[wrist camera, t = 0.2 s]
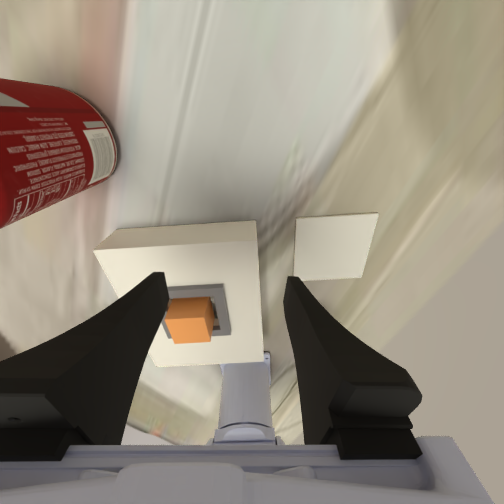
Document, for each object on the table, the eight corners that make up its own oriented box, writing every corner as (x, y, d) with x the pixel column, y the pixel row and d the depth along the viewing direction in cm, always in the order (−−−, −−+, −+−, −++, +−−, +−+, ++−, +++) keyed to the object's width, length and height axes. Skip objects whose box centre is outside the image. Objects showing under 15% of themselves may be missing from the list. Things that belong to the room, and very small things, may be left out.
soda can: (130, 122, 17) (-50, 134, 7) (112, 196, 20) (-30, 281, 10) (30, 64, 15) (-444, -48, 5) (27, 155, 18) (-263, 208, 8)
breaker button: (214, 317, 24) (210, 341, 21) (182, 318, 24) (174, 343, 21) (209, 293, 22) (203, 317, 19) (174, 295, 22) (164, 319, 19)
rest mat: (360, 275, 25) (361, 277, 25) (292, 279, 26) (293, 281, 25) (377, 212, 21) (379, 213, 21) (296, 217, 21) (296, 218, 21)
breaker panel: (262, 334, 31) (264, 366, 27) (166, 340, 31) (154, 371, 27) (255, 220, 21) (257, 243, 17) (116, 229, 22) (88, 254, 18)
